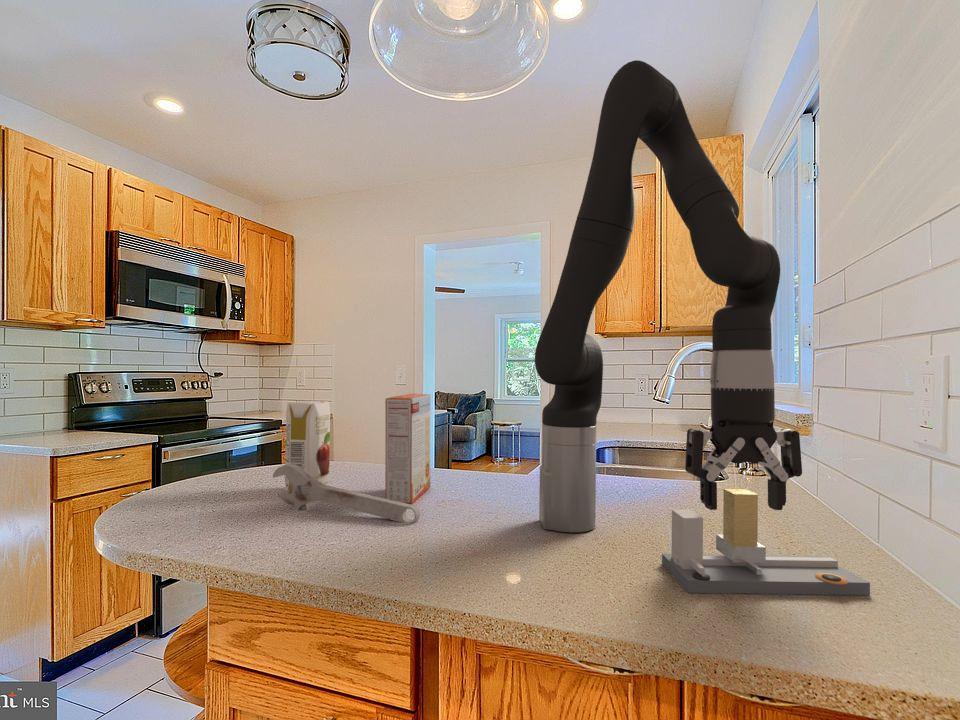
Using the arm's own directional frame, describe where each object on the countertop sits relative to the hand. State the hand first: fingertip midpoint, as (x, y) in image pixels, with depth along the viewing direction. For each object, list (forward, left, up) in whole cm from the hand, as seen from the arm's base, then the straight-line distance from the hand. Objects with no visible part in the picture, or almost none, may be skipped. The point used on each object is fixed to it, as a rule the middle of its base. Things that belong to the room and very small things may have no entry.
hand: (743, 508), depth 68 cm
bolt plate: (+2, -1, -9) cm, 9 cm away
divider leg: (0, -1, -7) cm, 7 cm away
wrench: (-59, +26, -9) cm, 65 cm away
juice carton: (-71, +43, -9) cm, 84 cm away
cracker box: (-49, +40, -9) cm, 64 cm away
